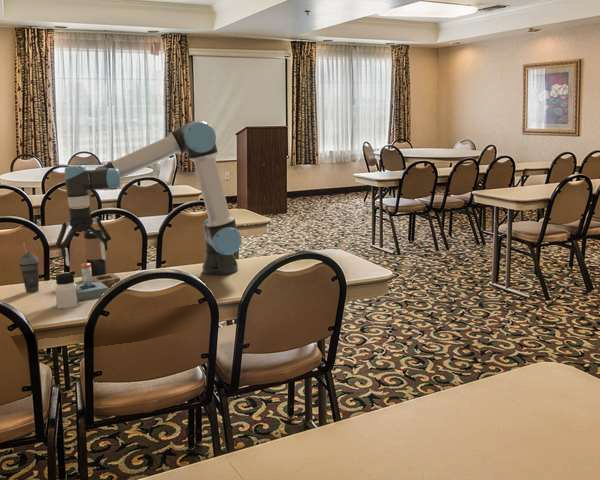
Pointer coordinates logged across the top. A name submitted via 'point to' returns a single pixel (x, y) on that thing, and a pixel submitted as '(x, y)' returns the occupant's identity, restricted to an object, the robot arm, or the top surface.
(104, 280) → the mount
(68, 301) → the medicine bottle
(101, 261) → the travel mug
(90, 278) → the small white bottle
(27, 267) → the beverage cup
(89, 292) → the socket
